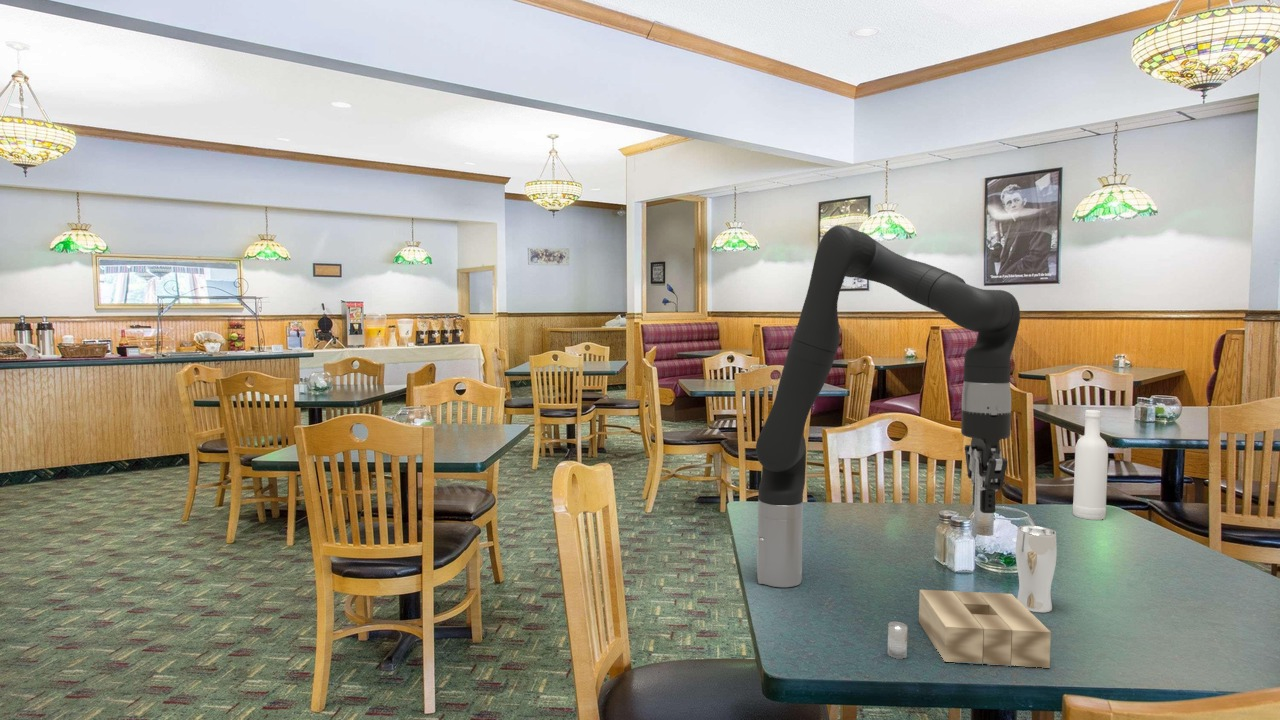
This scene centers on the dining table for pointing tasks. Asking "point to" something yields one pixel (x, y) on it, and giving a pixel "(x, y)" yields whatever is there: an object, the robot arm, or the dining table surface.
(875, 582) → the dining table surface
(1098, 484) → the bottle
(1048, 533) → the beer glass
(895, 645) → the short steel pin
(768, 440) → the robot arm
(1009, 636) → the oak hole block
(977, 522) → the long steel pin
